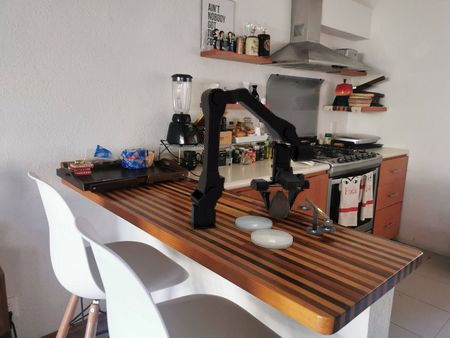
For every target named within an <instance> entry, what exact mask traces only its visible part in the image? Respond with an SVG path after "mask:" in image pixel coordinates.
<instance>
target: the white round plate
mask: <svg viewBox="0 0 450 338" xmlns="http://www.w3.org/2000/svg"><path fill="white" fill-rule="evenodd" d="M235 226H236V227H237V229H240V230H242V231H247V232H252V233H253V232H254V231H257V230H262V229H273V221H272V219H269V218H267V217H263V216H258V215H244V216H240V217H237V218H236V219H235Z"/></svg>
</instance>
